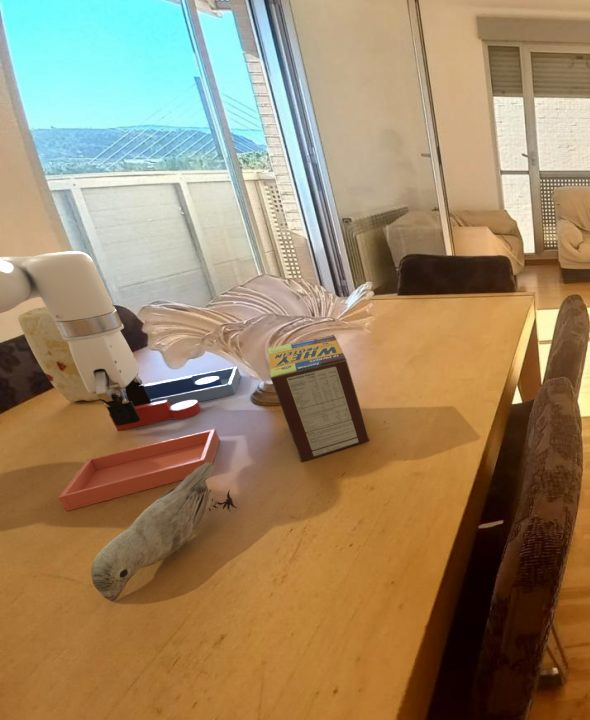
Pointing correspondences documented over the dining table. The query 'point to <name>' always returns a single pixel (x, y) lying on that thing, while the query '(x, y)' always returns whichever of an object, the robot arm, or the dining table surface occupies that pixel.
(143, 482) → the red tray
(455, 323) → the dining table surface
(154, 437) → the dining table surface
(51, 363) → the food model
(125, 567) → the decorative bird
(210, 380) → the blue spoon
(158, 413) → the red spoon
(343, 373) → the protein box
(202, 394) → the blue tray
